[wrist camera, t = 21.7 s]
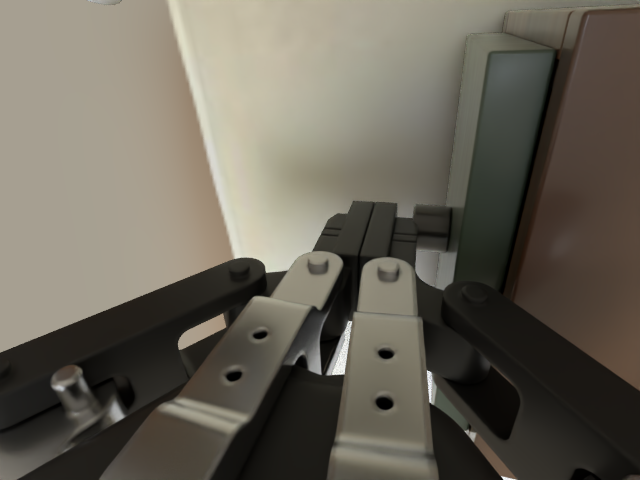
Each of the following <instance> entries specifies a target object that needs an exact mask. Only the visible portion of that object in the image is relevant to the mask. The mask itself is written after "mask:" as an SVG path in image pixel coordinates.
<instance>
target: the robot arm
mask: <svg viewBox="0 0 640 480" xmlns="http://www.w3.org/2000/svg"><path fill="white" fill-rule="evenodd" d="M417 232H418V226H417V224H416V223H415V222H414V220H413V219H412V218H400V217H397V203H385V202H376V203H375V202H367V201H353V203H352V205H351V207H350V210H349V212H348V214H339V213H337V214H336V215H334V216H333V217H331V218H330V219H328V221H327V223H326V225H325V227H324V229H323V231H322V233H321V235H320V237H319V239H318V241H317V243H316V245H315V247H314V249H313V251H312V252H309V253H306V254H303V255H301V256H300V257H298V258H297V259H296V260H295V262H294V263H293V265H292V266H291V267H290V269H289V270H288V271H282V272H272V273H266V271H265V266H264V264H263V263H262V262H261V261H259V260H257V259H253V258H238V259H233V260H230V261H228V262H225V263H223V264H220V265H218V266H215V267H213V268H210V269H208V270H205V271H203V272H200V273H198V274H195V275H193V276H190V277H188V278H185V279H183V280H180V281H178V282H175V283H173V284H170V285H168V286H165V287H163V288H160V289H158V290H155V291H153V292H151V293H148V294H145V295H143V296H140V297H138V298H136V299H133V300H131V301H128V302H125V303H123V304H121V305H118V306H116V307H113V308H111V309H108V310H106V311H103V312H101V313H98V314H96V315H93V316H91V317H88V318H86V319H83V320H81V321H78V322H76V323H73V324H71V325H68V326H66V327H63V328H61V329H58V330H56V331H53V332H51V333H48V334H46V335H44V336H41V337H38V338H36V339H33V340H31V341H28V342H26V343H24V344H21V345H18V346H16V347H13V348H11V349H9V350H6V351H3V352H1V353H0V480H503V479H502V477H501V476H500V475H499V474H498V472H497V471H496V470H495V469H494V467H493V466H492V465H491V464H490V462H489V461H488V460H487V459H486V457H485V456H484V455H483V454H482V452H481V451H480V450H479V448H478V447H477V446H476V445H475V443H474V442H473V441H472V440H471V438H470V437H469V436H468V435H467V434H466V432H465V431H464V430H463V429H462V428H461V427H460V426H459V425H458V424H457V423H456V422H455V421H454V420H453V419H452V418H451V417H450V416H448V415H447V414H446V413H445V412H444V411H442V410H441V409H439V408H438V407H436V406H435V405H433V404H431V403H429V394H428V382H427V370H428V371H430V372H432V378H433V381H434V383H435V385H436V386H437V387H438V388H439V390H440V391H441V392H442V393H443V394H444V395H445V397H446V398H447V399H448V400H449V401H450V402H451V403H452V405H453V406H454V407H455V408H456V409H457V410H458V411H459V413H460V414H461V415H462V416H463V417H464V418H465V419H466V421H467V422H468V423H469V424H470V425H471V426H472V428H473V429H474V430H475V431H476V432H477V433H478V434H479V436H480V437H481V438H482V439H483V440H484V441H485V442H486V444H487V445H488V446H489V447H490V448H491V449H492V451H493V452H494V453H495V454H496V455H497V456H498V457H499V459H500V460H501V461H502V462H503V463H504V464H505V465H506V467H507V468H508V469H509V470H510V471H511V472H512V474H513V475H514V476H515V477H516V478H517V479H518V480H640V391H639V390H638V389H636V388H635V387H633V386H632V385H631V384H629V383H628V382H626V381H625V380H623V379H622V378H621V377H619V376H618V375H616V374H615V373H614V372H612V371H611V370H609V369H608V368H606V367H605V366H604V365H602V364H601V363H599V362H598V361H596V360H595V359H594V358H592V357H591V356H589V355H588V354H587V353H585V352H584V351H582V350H581V349H579V348H578V347H577V346H575V345H574V344H572V343H571V342H569V341H568V340H567V339H565V338H564V337H562V336H561V335H559V334H558V333H557V332H555V331H554V330H552V329H551V328H550V327H548V326H547V325H545V324H544V323H542V322H541V321H540V320H538V319H537V318H535V317H534V316H532V315H531V314H530V313H528V312H527V311H525V310H524V309H523V308H521V307H520V306H518V305H517V304H515V303H514V302H513V301H511V300H510V299H508V298H507V297H505V296H504V295H503V294H501V293H500V292H498V291H497V290H495V289H494V288H492V287H490V286H488V285H486V284H483V283H480V282H475V281H457V282H453V283H451V284H449V285H448V286H447V287H446V288H445V289H444V290H441V289H438V288H435V287H432V286H430V285H428V284H426V283H425V282H423V281H422V280H421V279H420V278H419V277H418V276H417V274H416V272H415V262H416V247H417ZM222 313H223V314H224V319H225V323H226V328H225V329H223V330H221V331H219V332H217V333H214V334H213V335H211V336H208V337H207V338H205V339H203V340H200V341H198V342H196V343H194V344H193V345H190V346H188V347H186V348H184V349H182V350H179V349H178V340H179V338H180V337H181V335H182V334H183V333H184V332H185V331H187V330H189V329H191V328H193V327H195V326H197V325H199V324H201V323H203V322H206V321H208V320H210V319H212V318H214V317H216V316H218V315H220V314H222ZM348 321H352V327H351V334H350V341H349V348H348V354H347V361H346V368H345V375H332V372H333V369H334V367H335V364H336V362H337V359H338V356H339V354H340V351H341V348H342V346H343V343H344V340H345V332H344V331H345V329H346V326H347V322H348ZM491 364H492V365H493V366H494V367H495V368H497V369H498V370H499V371H500V372H501V373H502V374H503V375H504V376H505V377H506V378H507V379H509V380H510V381H511V383H512V384H513V385H514V386H515V387H514V386H513V385H512V384H511V383H510V382H509V381H508V380H507V379H505V378H504V377H503V376H502V375H501V374H500V373H499V372H498V371H497V370H496V369H495V368H493V367H492V366H491Z"/></svg>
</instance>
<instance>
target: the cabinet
mask: <svg viewBox="0 0 640 480" xmlns="http://www.w3.org/2000/svg"><path fill="white" fill-rule="evenodd" d="M502 32H504V33H507V34H510V35H513V36H516V37H519V38H522V39H525V40H528V41H531V42H534V43H537V44H541V45H544V46H547V47H550V48H553V49H555V50H556V52H557V54H556V59H558V60H559V64H558V68H557V72H556V76H555V80H554V84H553V89H552V93H551V97H550V101H549V105H548V109H547V114H546V118H545V122H544V126H543V130H542V134H541V138H540V143H539V147H538V151H537V155H536V159H535V163H534V168H533V172H532V176H531V180H530V184H529V188H528V193H527V197H526V201H525V205H524V209H523V213H522V218H521V222H520V226H519V230H518V234H517V238H516V243H515V247H514V251H513V255H512V259H511V263H510V268H509V272H508V276H507V280H506V284H505V288H504V293H503V295H504V296H505V297H507V298H508V299H510V300H511V301H513V302H514V303H515V304H517V305H518V306H520V307H521V308H523V309H524V310H525V311H527V312H528V313H530V314H531V315H532V316H534V317H535V318H537V319H538V320H540V321H541V322H542V323H544V324H545V325H547V326H548V327H550V328H551V329H552V330H554V331H555V332H557V333H558V334H559V335H561V336H562V337H564V338H565V339H567V340H568V341H569V342H571V343H572V344H574V345H575V346H577V347H578V348H579V349H581V350H582V351H584V352H585V353H587V354H588V355H589V356H591V357H592V358H594V359H595V360H596V361H598V362H599V363H601V364H602V365H604V366H605V367H606V368H608V369H609V370H611V371H612V372H614V373H615V374H616V375H618V376H619V377H621V378H622V379H623V380H625V381H626V382H628V383H629V384H631V385H632V386H633V387H635V388H636V389H638V390H639V391H640V4H626V5H607V6H589V7H571V8H553V9H534V10H516V11H507V12H506V14H505V19H504V25H503V31H502ZM491 366H492V367H493V368H495V367H494V366H493V365H492V364H491ZM495 369H496V370H497V371H498V372H499V373H500V374H501V375H502V376H503V377H504V378H505V379H507V378H506V377H505V376H504V375H503V374H502V373H501V372H500V371H499V370H498V369H497V368H495ZM507 380H508V381H509V382H510V383H511V381H510V380H509V379H507ZM511 384H512V383H511ZM512 385H513V384H512ZM513 386H514V385H513ZM514 387H515V386H514ZM465 432H466V434H467V435H468V436H469V437H470V438H471V440H472V441H473V442H474V443H475V445H476V446H477V447H478V448H479V450H480V451H481V452H482V454H483V455H484V456H485V457H486V459H487V460H488V461H489V462H490V464H491V465H492V466H493V467H494V469H495V470H496V471H497V472H498V474H499V475H500V476H503V477H508V478H512V479H517V478H516V477H515V476H514V475H513V474H512V472H511V471H510V470H509V469H508V468H507V467H506V465H505V464H504V463H503V462H502V461H501V460H500V459H499V457H498V456H497V455H496V454H495V453H494V452H493V451H492V449H491V448H490V447H489V446H488V445H487V444H486V442H485V441H484V440H483V439H482V438H481V437H480V436H479V434H478V433H477V432H476V431H475V430H474V429H473V428H472V426H471V425H470V424H469V429H468V430H467V431H465ZM517 480H518V479H517Z"/></svg>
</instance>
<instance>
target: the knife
mask: <svg viewBox="0 0 640 480" xmlns="http://www.w3.org/2000/svg"><path fill="white" fill-rule="evenodd" d="M88 1H90V2H94V3H98V4H104V5H115V4H118V3H120V2H121V0H88Z"/></svg>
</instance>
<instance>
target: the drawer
mask: <svg viewBox="0 0 640 480" xmlns="http://www.w3.org/2000/svg"><path fill="white" fill-rule="evenodd" d="M556 54H557V52H556V50H555V49H553V48H550V47H547V46H544V45H541V44H537V43H534V42H531V41H528V40H525V39H522V38H519V37H516V36H513V35H510V34H507V33H504V32H502V33H478V34H469V35H468V36H467V41H466V49H465V57H464V64H463V72H462V80H461V88H460V96H459V104H458V112H457V120H456V128H455V135H454V143H453V151H452V159H451V167H450V175H449V183H448V191H447V198H446V206H441V205H426V204H415V206H414V213H413V220H414V222H415V223H416V224H417V226H418V232H417V247H416V251H426V252H437V253H440V254H439V261H438V269H437V277H436V285H435V288H438V289H441V290H444V289H445V288H446V287H447V286H448V285H449V284H451V283H453V282H457V281H475V282H480V283H483V284H486V285H488V286H490V287H492V288H494V289H495V290H497V291H498V292H500V293H501V294H503V293H504V288H505V284H506V280H507V276H508V272H509V268H510V263H511V259H512V255H513V251H514V247H515V243H516V238H517V234H518V230H519V226H520V222H521V218H522V213H523V209H524V205H525V201H526V197H527V193H528V188H529V184H530V180H531V176H532V172H533V168H534V163H535V159H536V155H537V151H538V147H539V143H540V138H541V134H542V130H543V126H544V122H545V118H546V114H547V109H548V105H549V101H550V97H551V93H552V89H553V84H554V80H555V76H556V72H557V68H558V64H559V60H558V59H556ZM431 404H433V405H435V406H436V407H438V408H439V409H441V410H442V411H444V412H445V413H446V414H447V415H448V416H450V417H451V418H452V419H453V420H454V421H455V422H456V423H457V424H458V425H459V426H460V427H461V428H462V429H463V430H464V431H467V430H468V429H469V423H468V422H467V421H466V419H465V418H464V417H463V416H462V415H461V414H460V413H459V411H458V410H457V409H456V408H455V407H454V406H453V405H452V403H451V402H450V401H449V400H448V399H447V398H446V397H445V395H444V394H443V393H442V392H441V391H440V390H439V388H438V387H437V386H436V385H435V383H434V381H433V378H432V397H431Z"/></svg>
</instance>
